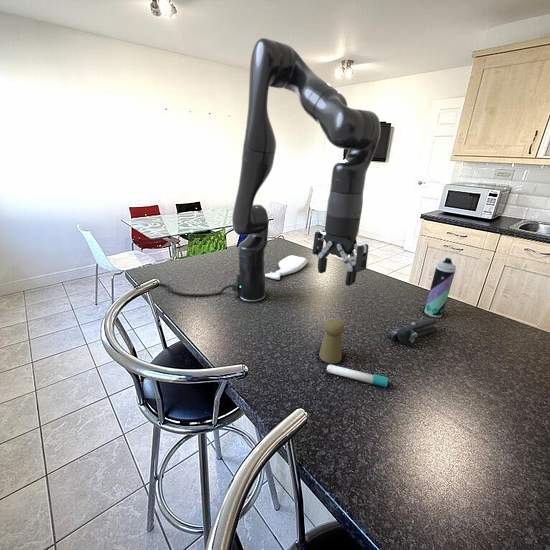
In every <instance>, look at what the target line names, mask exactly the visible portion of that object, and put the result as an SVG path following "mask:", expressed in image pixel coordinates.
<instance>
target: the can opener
mask: <svg viewBox="0 0 550 550" xmlns="http://www.w3.org/2000/svg"><path fill="white" fill-rule="evenodd" d="M437 323H438V320H437V319H435V318H429V319H427V318H426V319H422V320H419V321H415V322H414V321H413V322H411V323H410V324H408V325H407V324H406V325H405V326H403V327H400V328H394V329H392V330H390V331H389V332H388V334H387V336H388V338H390V339H392V340H393V341H399V342H400V343H401V344H402V345H403V344H404V345H408V346H413V345H414V344H415V340H416V339H417V338H419V337H421V336H425V335H428V334H431V333H433V332H435V331H436V330H437V328H436V327H435V326H434V325H436V324H437Z"/></svg>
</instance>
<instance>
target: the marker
mask: <svg viewBox="0 0 550 550" xmlns="http://www.w3.org/2000/svg"><path fill="white" fill-rule="evenodd" d="M326 371H327V372H328V373H329V374H333V375H337V376H340V377H344V378H347V379H352V380H356V381H360V382H364V383H367V384H371V385H374V386H378V387H382V388H387V387H388V383H389V377H388V376H383V375H379V374H375V373H373V374H371V373H367V372H363V371H358V370H354V369H351V368H346V367H343V366H338V365H334V364H328V365H327V366H326Z"/></svg>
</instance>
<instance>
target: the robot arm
mask: <svg viewBox="0 0 550 550" xmlns="http://www.w3.org/2000/svg"><path fill="white" fill-rule="evenodd" d="M250 56H251V57H250V63H249V76H248V77H249V78H248V100H247V114H246V115H247V116H246V123H245V125H246V126H245V131H244V132H245V133H244V140H243V145H242V153H241V164H240V165H241V166H240V174H239V179H238V186H237V191H236V197H235V201H234V205H233V210H232V216H231V217H232V218H231V224H232V228H233V230H234V232H235V233H236V235H238V236H241V237H242V236H247V237H246V238H245V239H244V240H243V241H241V242H239V244H238V246H237V248H238V250H237V251H238V272H237V274H236V280H235V282H233V283H232V284H228V285H226V286H224V287H223V288H222V289H221V290H219V291H218V292H213V293H186V292H180V291H176V290H173V289H172V288H171V287H170V286H169V285H167V284H166V283H162V282H159V283H160V284H159V285H158V286H163V287H165V288H166V289H167V290H168V291H169V292H171V293H173V294H176V295H180V296H184V297H213V296H219V295H220V294H222V293H223V292H224V291H225V290H226V289H229V288H231V290H232V292H237V298H239V299H240V300H242V301H244V302H247V303H257V302H261V301H263V300H265V298H266V276H265V274H266V248H267V246H268V242H269V241H268V240H269V222H270V221H269V214H268V211H267V209H266V207H264V206H263V205H261V204H254V202H255V198H256V196H257V194H258V192H259V190H260V189H261V187H262V186H263V185H264V183H265V182H266V180H267V178H268V177H269V176H270V173H271V172H272V170H273V166H274V163H275V162H274V161H275V155H276V152H277V151H276V150H277V139H276V135H275V131H274V128H273V126H272V123H271V120H270V119H271V118H270V116H269V110H268V103H269V100H268V99H269V90H270V88H274V89H279V90H280V89H284V90H287V91H290V92H292V93H294V94H295V95H297V97H298V102H299V105H300V107H301V108H302V110H303V111H304V112H305V113H306V115H308V116H309V118H311V119H312V120H313V121H314V122H315V123H317V124H318V125H319V127H320V129H321V131H322V132H323V134H324V136H325V137H326V140H327V141H329V143H330V144H332V145H333V146H334V147H336V148H338V149H342V150H347V153H346V156H345V158H344V159H343V160H341V161H338V162H336V163H335V164H334V165H333V167H332V171H331V180H330V189H329V195H328V199H327V206H326V216H325V222H324V230H319V231H318V230H317V231H315V232H314V238H313V244H312V251H311V253H312V254H313V255H315V256H316V257H317V259H318V260H317V271H318V273H319V274H324V273H326V272H327V265H328V256H329V255H332V256H336V257H337V258H340V259H342V262H343V263H344V264H345V265H346V267H347V271H346V277H345V278H346V279H345V284H344V285H345V286H347V287H349V286H352V285H353V284H355V283H356V280H357V273H359V272H361V271H365V270H366V269H367V264H368V257H369V255H368V254H369V247H370V246H369V244H367V243H363V244H361V243H359V242H357V236H358V234H359V230H360V224H361V219H362V212H363V204H364V192H365V191H364V190H365V185H366V177H367V172H368V170H369V167H370V165H371V163H372V161H373V158H374V155H375V153H376V150H377V147H378V145H379V141H380V138H381V128H382V127H381V121H380V118H379V116H378V115H377V114H376V113H375V112H374V111H372V110H367V109H365V110H364V109H357V108H351V107H349V106H348V102H347V98H346V97H345V96H344V95H343V94H342V93H341V92H339V91H338V90H337V89H336V88H335V87H333V86H332V85H331V84H329V83H328V82H327V81H325V80H324V79H322V78H321V77H319V76H318V75H317V74H316V73H315V72H314V71H313V70H312V69H311V68H310V67H309V66H308V64H307V63H306V62H305V61H304V59H303V58H302V57H301V55H300V54H299V53H298V51H297V50H295V49H294V48H293V47H292V46H290V45H289V44H287V43H283V42H279V41H277V40H273V39H270V38H265V37H261V38H259V39H258V40H257V41H256V42H255V44H254V46H253V49H252V52H251V55H250ZM324 242H325V243H324ZM143 283H144V282H141V283H139V284H136V286H134V288H136V287H138V286H139V287H141V286H140V285H141V284H143ZM139 287H138V288H139ZM136 289H137V288H136Z"/></svg>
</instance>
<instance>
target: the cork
mask: <svg viewBox="0 0 550 550" xmlns="http://www.w3.org/2000/svg"><path fill="white" fill-rule="evenodd" d="M323 331H324V335H323V338H322V342H321V346H320V349H319V352H318V354H319V359H320V360H321V361H323V362H325V363H327V364H331V365H334V364H338V363H340V362H341V361H342V359H343V347H342V346H343V345H342V339H343V338H342V337H343V336H342V335H343V333H344V332H345V323H344V322H343V321H342V320H341V319H339V318H336V317H331V318H330V317H329V318H327V319H326V320H325V321H324V323H323Z"/></svg>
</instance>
